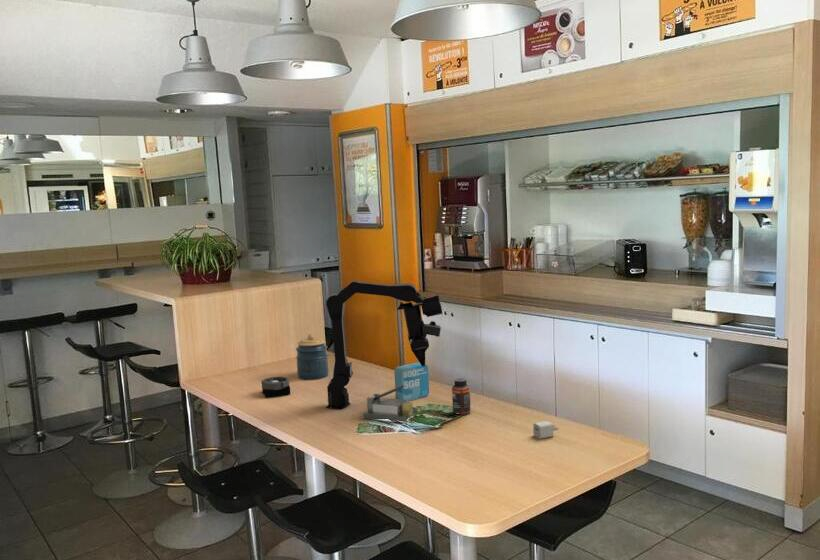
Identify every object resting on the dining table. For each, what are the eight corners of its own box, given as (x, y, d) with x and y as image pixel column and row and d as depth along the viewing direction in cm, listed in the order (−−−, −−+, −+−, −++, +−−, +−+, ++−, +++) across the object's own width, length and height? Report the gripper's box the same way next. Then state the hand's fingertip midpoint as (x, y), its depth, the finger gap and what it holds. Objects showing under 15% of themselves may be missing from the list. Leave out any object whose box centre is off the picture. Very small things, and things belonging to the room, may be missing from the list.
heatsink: (363, 419, 234) (362, 399, 233) (377, 410, 243) (376, 391, 242) (404, 423, 228) (403, 403, 227) (417, 414, 236) (416, 395, 236)
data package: (402, 402, 251) (401, 369, 249) (395, 400, 254) (393, 367, 253) (429, 395, 257) (428, 363, 256) (422, 393, 261) (421, 361, 260)
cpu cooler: (259, 378, 271) (285, 374, 275) (260, 392, 272) (286, 389, 275) (264, 384, 262) (291, 380, 265) (265, 399, 262) (292, 395, 266)
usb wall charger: (533, 435, 212) (533, 422, 211) (553, 431, 214) (553, 419, 214) (540, 439, 208) (540, 426, 207) (560, 435, 210) (560, 422, 210)
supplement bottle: (473, 410, 238) (472, 377, 236) (467, 416, 232) (465, 382, 231) (456, 409, 240) (455, 376, 239) (450, 414, 235) (448, 381, 233)
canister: (333, 372, 298) (331, 330, 296) (322, 380, 286) (320, 337, 284) (304, 371, 301) (301, 330, 299) (292, 379, 289) (289, 337, 286)
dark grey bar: (370, 403, 236) (368, 398, 236) (374, 400, 239) (372, 396, 239) (401, 390, 231) (399, 385, 231) (404, 388, 233) (402, 383, 233)
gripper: (439, 319, 236) (448, 364, 238) (434, 310, 254) (442, 352, 256) (406, 326, 236) (415, 371, 237) (403, 317, 254) (412, 359, 256)
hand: (422, 363), depth 247 cm, fingers open, 9 cm apart
